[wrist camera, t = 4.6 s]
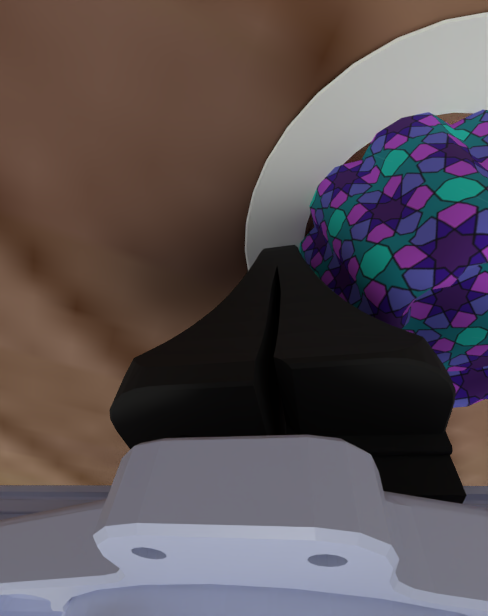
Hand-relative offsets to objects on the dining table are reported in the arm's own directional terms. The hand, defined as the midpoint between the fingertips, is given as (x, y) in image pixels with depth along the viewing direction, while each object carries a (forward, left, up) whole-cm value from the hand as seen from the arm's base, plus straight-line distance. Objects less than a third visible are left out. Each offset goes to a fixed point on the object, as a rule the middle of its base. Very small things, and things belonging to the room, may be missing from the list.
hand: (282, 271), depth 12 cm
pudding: (0, -5, -2) cm, 5 cm away
